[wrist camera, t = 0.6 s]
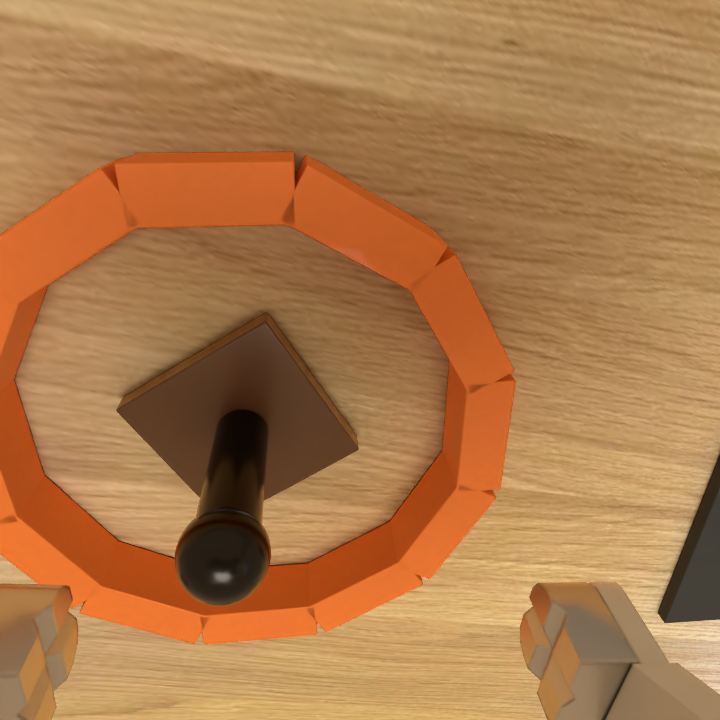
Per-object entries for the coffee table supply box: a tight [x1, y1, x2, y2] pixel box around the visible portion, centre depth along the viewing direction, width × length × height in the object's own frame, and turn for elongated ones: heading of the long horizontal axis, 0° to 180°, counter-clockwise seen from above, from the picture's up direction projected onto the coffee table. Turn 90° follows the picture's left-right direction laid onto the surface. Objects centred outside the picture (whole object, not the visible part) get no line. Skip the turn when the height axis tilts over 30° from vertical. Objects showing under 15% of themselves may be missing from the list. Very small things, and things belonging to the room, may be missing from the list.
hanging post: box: [117, 313, 359, 606], centre depth 22 cm, size 8×8×10 cm
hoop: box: [0, 151, 516, 644], centre depth 26 cm, size 24×24×3 cm
